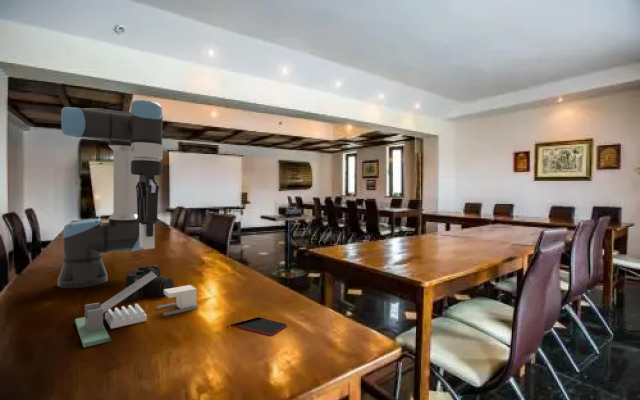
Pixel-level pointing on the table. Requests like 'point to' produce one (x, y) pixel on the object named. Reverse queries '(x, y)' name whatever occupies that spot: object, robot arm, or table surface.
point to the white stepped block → (182, 296)
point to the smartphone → (261, 326)
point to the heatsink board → (112, 321)
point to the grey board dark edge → (127, 291)
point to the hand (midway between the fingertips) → (146, 247)
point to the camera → (150, 288)
